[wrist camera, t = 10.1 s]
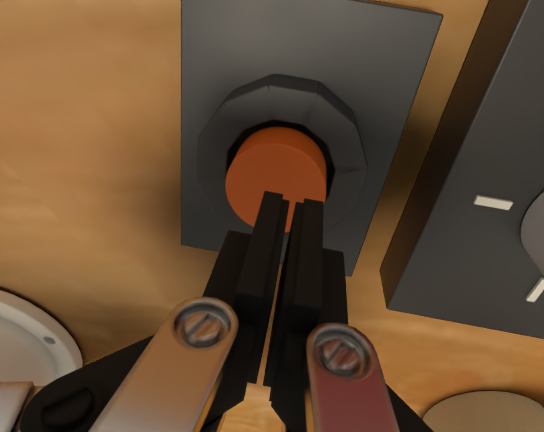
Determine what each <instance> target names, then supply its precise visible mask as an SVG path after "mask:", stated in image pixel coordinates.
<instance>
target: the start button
mask: <svg viewBox="0 0 544 432" xmlns="http://www.w3.org/2000/svg"><path fill="white" fill-rule="evenodd" d="M225 188H226V194H227V198H228V201H229V203H230V205H231V207H232V208H233V210H234V211H235V212H236V214H237V215H238V216H239V217H240V218H241V219H242V220H244V221H245V222H246V223H248V224H249V225H251V226H253V227H254V225H255V222H256V218H257V215H258V212H259V208H260V205H261V201H262V198H263V195H264V191H270V192H275V193H280V194H283V199H285V200H290V204H289V210H288V216H287V222H286V228H285V232H290V227H291V222H292V218H293V213H294V208H295V204H296V202H301V203H303V201H304V198H307V199H312V200H317V201H323V202H325V198H326V163H325V159H324V156H323V154H322V151H321V150H320V148H319V147H318V145H317V144H316V143H315V142H314V141H313V140H312V139H311V138H310V137H309V136H307V135H306V134H304V133H302V132H300V131H298V130H296V129H293V128H289V127H281V126H276V127H268V128H264V129H261V130H259V131H257V132H255V133H253V134H252V135H250V136H249V137H248V138H247V139H246V140H245V141H244V142H243V143H242V145H241V146H240V148H239V150H238V152H237V154H236V156H235V158H234V160H233V162H232V164H231V166H230V168H229V170H228V172H227V176H226V181H225Z"/></svg>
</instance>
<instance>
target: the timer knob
mask: <svg viewBox="0 0 544 432" xmlns="http://www.w3.org/2000/svg"><path fill="white" fill-rule="evenodd" d="M521 241H522V244H523V247H524V249H525V250H526V252H527V253H528V255H529V256H530V257H531V259H532V260H533V261H534V263H535V264H536V265H537V267H538V268H539V270H540V271H541V272H542V274H543V275H544V192H543V193H541V194H540V195H539V196H538V197H537V198H536V200H535V201H534V202H533V203H532V204H531V206H530V207H529V209H528V210H527V212H526V214H525V216H524V219H523V221H522V225H521Z"/></svg>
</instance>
